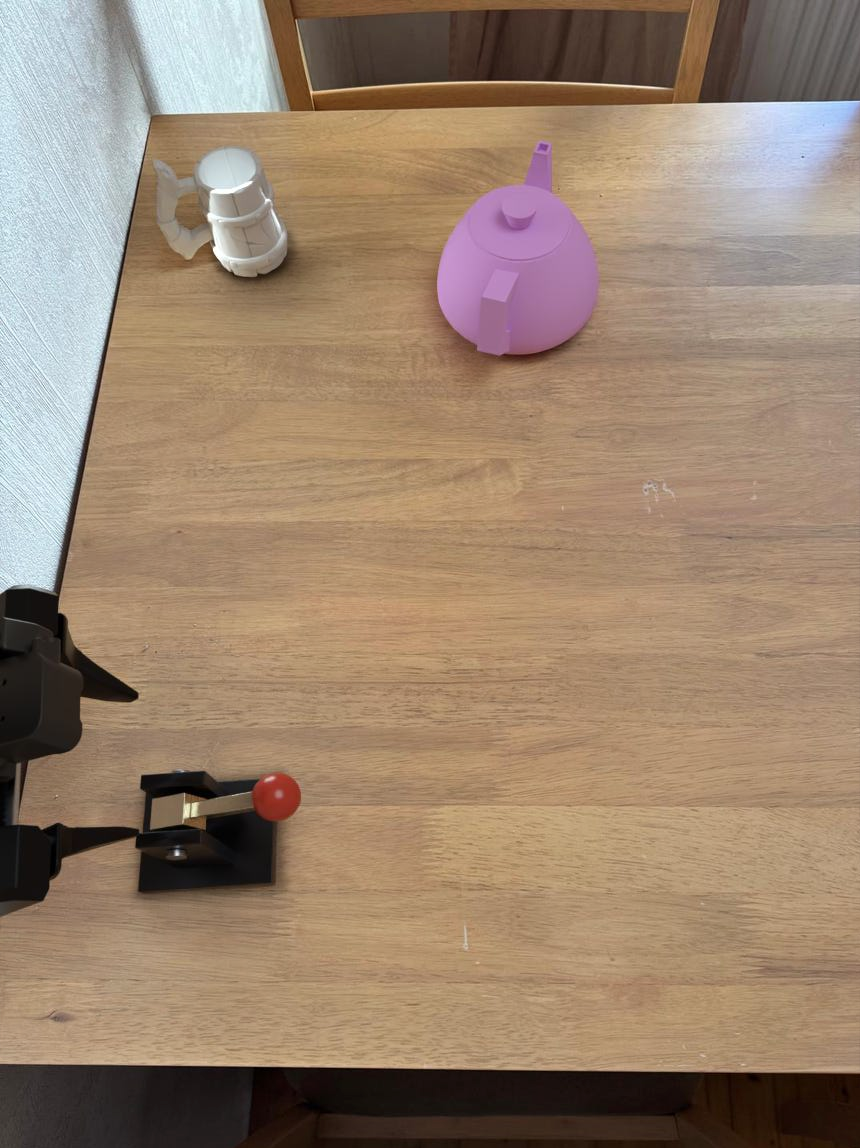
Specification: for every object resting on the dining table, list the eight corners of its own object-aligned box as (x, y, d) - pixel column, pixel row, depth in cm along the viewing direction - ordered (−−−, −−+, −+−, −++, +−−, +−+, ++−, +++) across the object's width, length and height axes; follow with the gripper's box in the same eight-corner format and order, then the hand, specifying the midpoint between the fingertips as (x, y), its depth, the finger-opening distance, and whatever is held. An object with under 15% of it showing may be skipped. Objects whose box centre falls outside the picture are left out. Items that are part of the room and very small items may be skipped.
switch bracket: (278, 781, 72) (246, 746, 63) (275, 885, 69) (242, 863, 60) (151, 790, 72) (101, 756, 63) (143, 894, 69) (89, 874, 60)
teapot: (571, 406, 86) (582, 314, 75) (412, 376, 87) (399, 281, 76) (615, 235, 94) (630, 129, 83) (468, 210, 96) (464, 103, 85)
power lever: (310, 774, 62) (283, 764, 59) (310, 821, 61) (282, 813, 58) (179, 798, 66) (148, 790, 63) (176, 843, 64) (144, 836, 62)
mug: (298, 269, 93) (271, 167, 82) (183, 296, 92) (139, 197, 81) (282, 216, 96) (254, 111, 85) (171, 242, 95) (127, 138, 84)
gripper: (-69, 873, 40) (221, 882, 52) (-39, 507, 47) (210, 590, 59) (-179, 922, 45) (106, 920, 58) (-137, 588, 53) (109, 649, 65)
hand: (135, 763), depth 60 cm, fingers open, 9 cm apart
